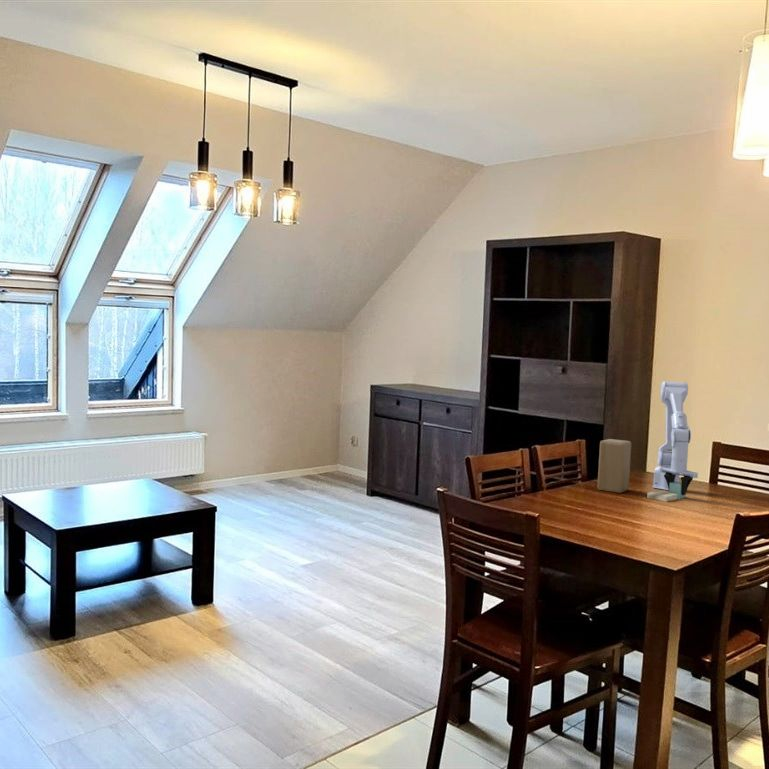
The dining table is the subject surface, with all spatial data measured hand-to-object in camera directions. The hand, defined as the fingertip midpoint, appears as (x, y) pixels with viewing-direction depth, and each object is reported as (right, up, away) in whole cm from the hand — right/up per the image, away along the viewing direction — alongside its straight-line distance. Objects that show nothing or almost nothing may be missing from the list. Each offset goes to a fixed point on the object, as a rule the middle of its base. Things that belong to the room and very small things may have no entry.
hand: (677, 493), depth 299 cm
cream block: (-7, -1, -4) cm, 8 cm away
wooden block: (-22, 0, +10) cm, 24 cm away
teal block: (0, -1, 0) cm, 1 cm away
